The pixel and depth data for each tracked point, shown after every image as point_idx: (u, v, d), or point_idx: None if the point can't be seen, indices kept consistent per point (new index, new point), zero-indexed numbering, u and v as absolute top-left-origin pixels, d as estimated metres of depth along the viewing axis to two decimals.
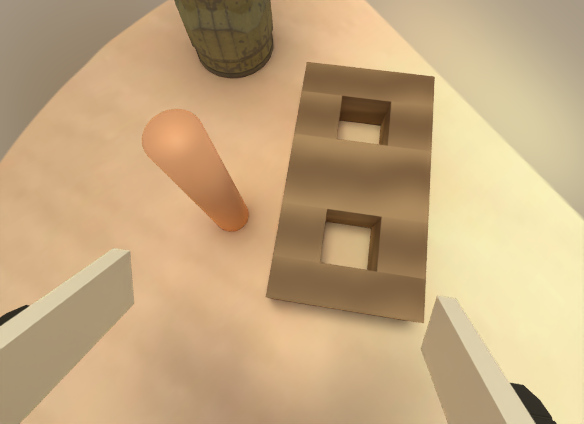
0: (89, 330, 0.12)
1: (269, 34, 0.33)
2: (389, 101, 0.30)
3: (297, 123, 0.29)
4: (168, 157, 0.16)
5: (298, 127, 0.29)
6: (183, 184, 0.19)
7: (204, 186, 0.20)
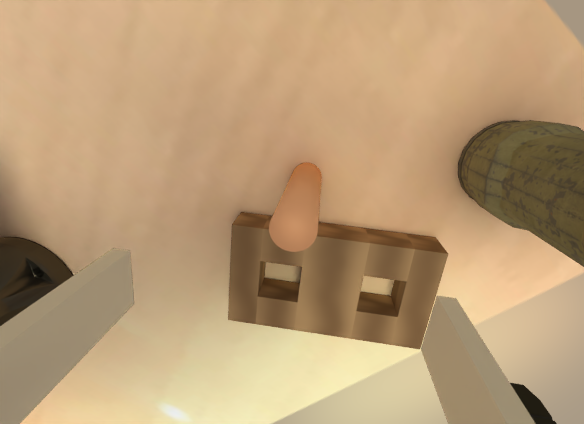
0: (89, 330, 0.12)
1: None
2: (398, 315, 0.35)
3: (380, 245, 0.33)
4: (274, 228, 0.21)
5: (375, 246, 0.33)
6: None
7: None
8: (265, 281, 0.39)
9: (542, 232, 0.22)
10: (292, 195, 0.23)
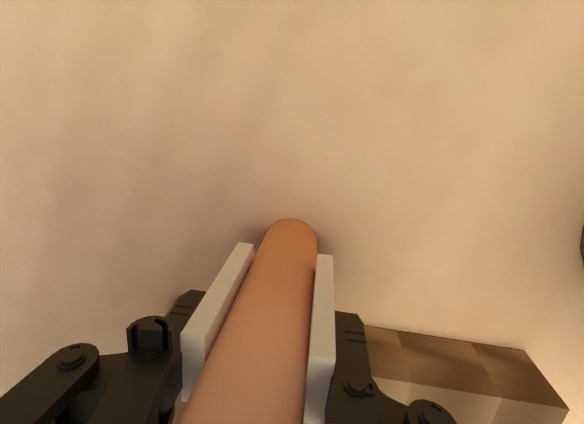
0: None
1: None
2: None
3: (432, 388, 0.17)
4: None
5: (422, 389, 0.17)
6: None
7: None
8: None
9: None
10: (213, 418, 0.07)
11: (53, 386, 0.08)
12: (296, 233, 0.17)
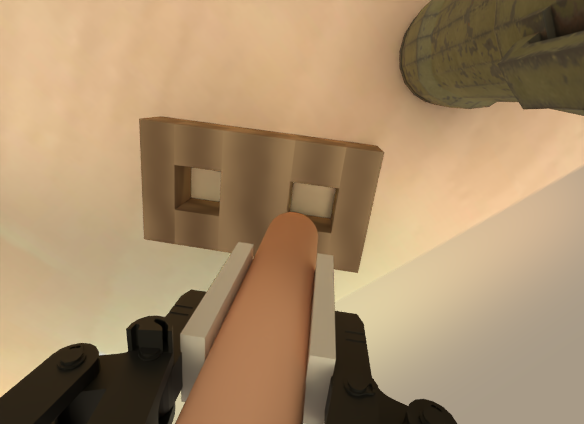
0: None
1: (437, 104, 0.27)
2: (332, 231, 0.31)
3: (307, 143, 0.28)
4: None
5: (301, 144, 0.28)
6: None
7: None
8: (190, 200, 0.35)
9: (464, 65, 0.17)
10: (226, 378, 0.08)
11: (53, 386, 0.08)
12: (298, 225, 0.18)
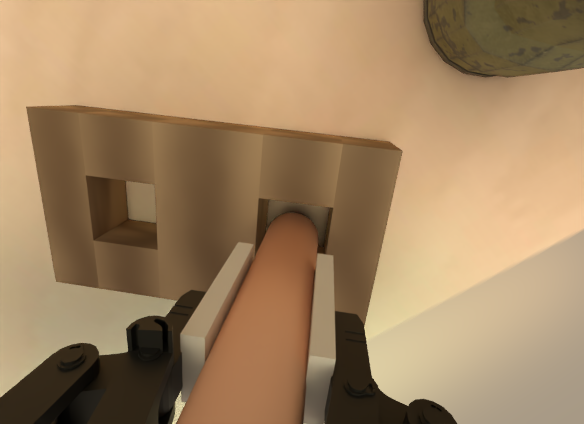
0: None
1: (488, 72, 0.17)
2: None
3: (281, 138, 0.18)
4: None
5: (273, 141, 0.18)
6: None
7: None
8: (126, 223, 0.25)
9: None
10: (227, 379, 0.08)
11: (53, 386, 0.08)
12: (298, 225, 0.18)
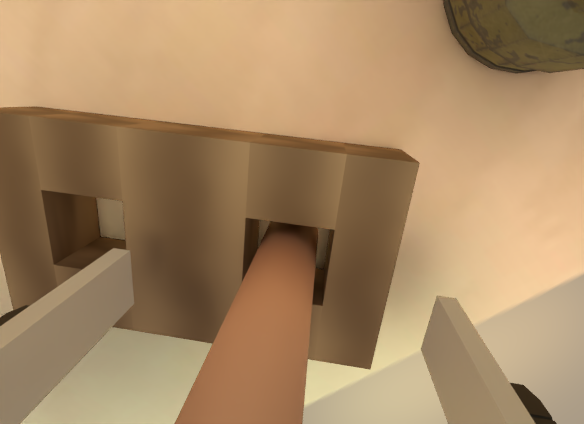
0: (89, 330, 0.12)
1: (526, 66, 0.14)
2: (323, 302, 0.17)
3: (271, 147, 0.15)
4: None
5: (262, 150, 0.15)
6: None
7: None
8: (96, 242, 0.22)
9: None
10: (231, 363, 0.08)
11: None
12: None
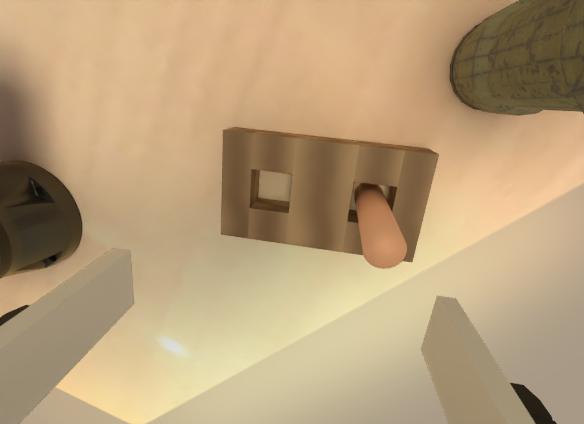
0: (89, 330, 0.12)
1: (487, 111, 0.31)
2: None
3: (369, 147, 0.32)
4: (368, 248, 0.24)
5: (365, 149, 0.33)
6: (360, 231, 0.27)
7: None
8: (258, 200, 0.39)
9: (524, 82, 0.21)
10: (378, 217, 0.26)
11: None
12: (375, 186, 0.36)
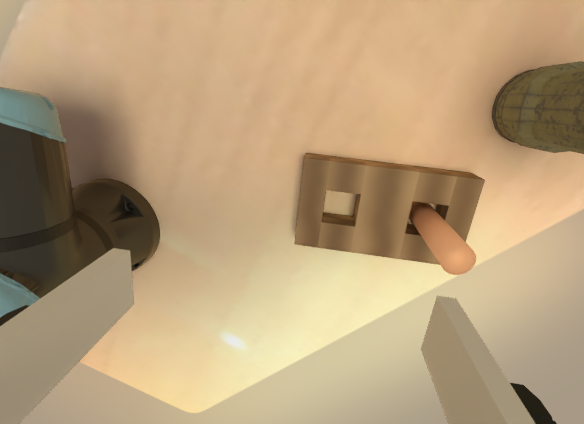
0: (89, 330, 0.12)
1: (524, 145, 0.38)
2: None
3: (428, 173, 0.40)
4: (445, 259, 0.31)
5: (424, 174, 0.40)
6: (432, 245, 0.34)
7: (431, 250, 0.35)
8: (323, 214, 0.46)
9: (569, 136, 0.28)
10: (448, 234, 0.33)
11: None
12: (427, 203, 0.43)
